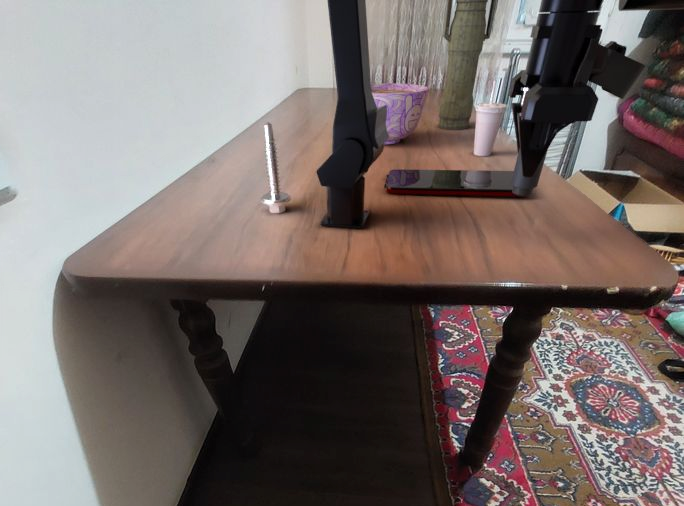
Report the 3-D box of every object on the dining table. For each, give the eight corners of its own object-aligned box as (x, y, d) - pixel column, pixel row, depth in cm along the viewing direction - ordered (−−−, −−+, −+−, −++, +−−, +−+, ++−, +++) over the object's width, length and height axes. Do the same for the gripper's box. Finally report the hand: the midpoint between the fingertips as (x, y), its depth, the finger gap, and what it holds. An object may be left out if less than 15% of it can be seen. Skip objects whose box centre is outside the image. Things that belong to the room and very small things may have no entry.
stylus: (536, 197, 51) (560, 117, 46) (509, 196, 52) (529, 116, 46) (533, 189, 54) (555, 112, 48) (507, 188, 54) (526, 111, 49)
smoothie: (491, 150, 95) (506, 78, 86) (500, 157, 90) (517, 82, 81) (464, 151, 95) (476, 79, 86) (472, 158, 90) (486, 83, 81)
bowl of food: (429, 149, 96) (435, 92, 89) (345, 150, 97) (345, 94, 90) (417, 132, 112) (422, 82, 105) (345, 133, 113) (345, 84, 105)
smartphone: (388, 167, 80) (520, 169, 76) (387, 176, 81) (518, 178, 77) (383, 187, 71) (534, 190, 67) (383, 196, 72) (531, 199, 68)
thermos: (428, 124, 120) (447, -39, 98) (467, 122, 121) (494, -39, 99) (437, 130, 113) (459, -43, 91) (478, 128, 114) (510, -44, 92)
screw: (266, 217, 64) (259, 208, 68) (295, 213, 66) (287, 204, 69) (254, 126, 56) (247, 120, 60) (288, 123, 57) (279, 117, 61)
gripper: (698, 8, 33) (617, 201, 43) (627, 11, 47) (578, 156, 57) (551, 12, 35) (506, 195, 45) (525, 14, 49) (495, 153, 59)
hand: (525, 172), depth 51 cm, fingers closed on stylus, 3 cm apart
